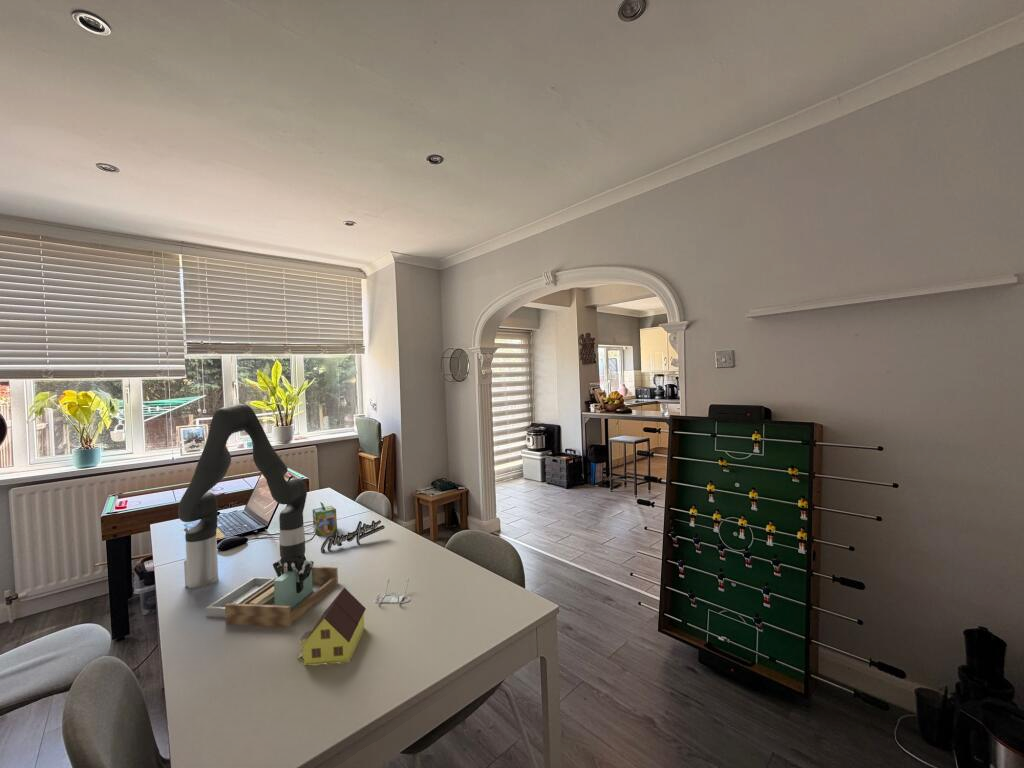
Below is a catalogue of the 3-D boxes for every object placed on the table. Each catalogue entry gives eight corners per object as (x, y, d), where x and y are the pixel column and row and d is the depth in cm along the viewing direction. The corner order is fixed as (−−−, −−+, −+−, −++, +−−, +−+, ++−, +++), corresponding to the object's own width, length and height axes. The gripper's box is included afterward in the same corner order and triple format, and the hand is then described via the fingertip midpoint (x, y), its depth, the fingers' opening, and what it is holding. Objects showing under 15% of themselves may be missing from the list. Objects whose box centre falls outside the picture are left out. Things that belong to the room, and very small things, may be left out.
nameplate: (324, 560, 181) (317, 539, 179) (323, 559, 182) (317, 538, 181) (386, 532, 195) (380, 512, 193) (385, 531, 196) (379, 511, 195)
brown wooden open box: (225, 624, 129) (224, 605, 129) (284, 581, 155) (284, 565, 155) (288, 627, 126) (288, 607, 126) (338, 583, 153) (337, 567, 152)
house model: (283, 676, 105) (280, 626, 105) (314, 629, 125) (312, 587, 125) (357, 670, 107) (355, 620, 107) (376, 624, 127) (374, 582, 126)
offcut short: (249, 608, 134) (249, 603, 134) (274, 591, 145) (274, 586, 145) (256, 609, 134) (255, 603, 134) (280, 591, 145) (280, 586, 145)
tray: (206, 617, 133) (205, 607, 133) (254, 585, 154) (254, 577, 153) (230, 618, 132) (230, 608, 132) (276, 586, 152) (275, 577, 152)
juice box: (337, 532, 205) (336, 502, 205) (317, 537, 200) (316, 506, 200) (332, 527, 213) (331, 498, 213) (313, 532, 207) (311, 502, 207)
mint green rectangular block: (275, 615, 133) (273, 580, 133) (304, 591, 148) (303, 560, 148) (283, 615, 133) (282, 580, 132) (312, 591, 147) (311, 560, 147)
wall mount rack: (370, 607, 136) (369, 593, 136) (382, 590, 147) (381, 577, 147) (406, 607, 136) (406, 593, 135) (416, 590, 146) (415, 577, 146)
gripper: (265, 544, 137) (267, 597, 137) (304, 545, 135) (307, 598, 135) (280, 535, 145) (282, 585, 145) (318, 536, 143) (320, 587, 143)
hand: (294, 591), depth 140 cm, fingers closed on mint green rectangular block, 3 cm apart
